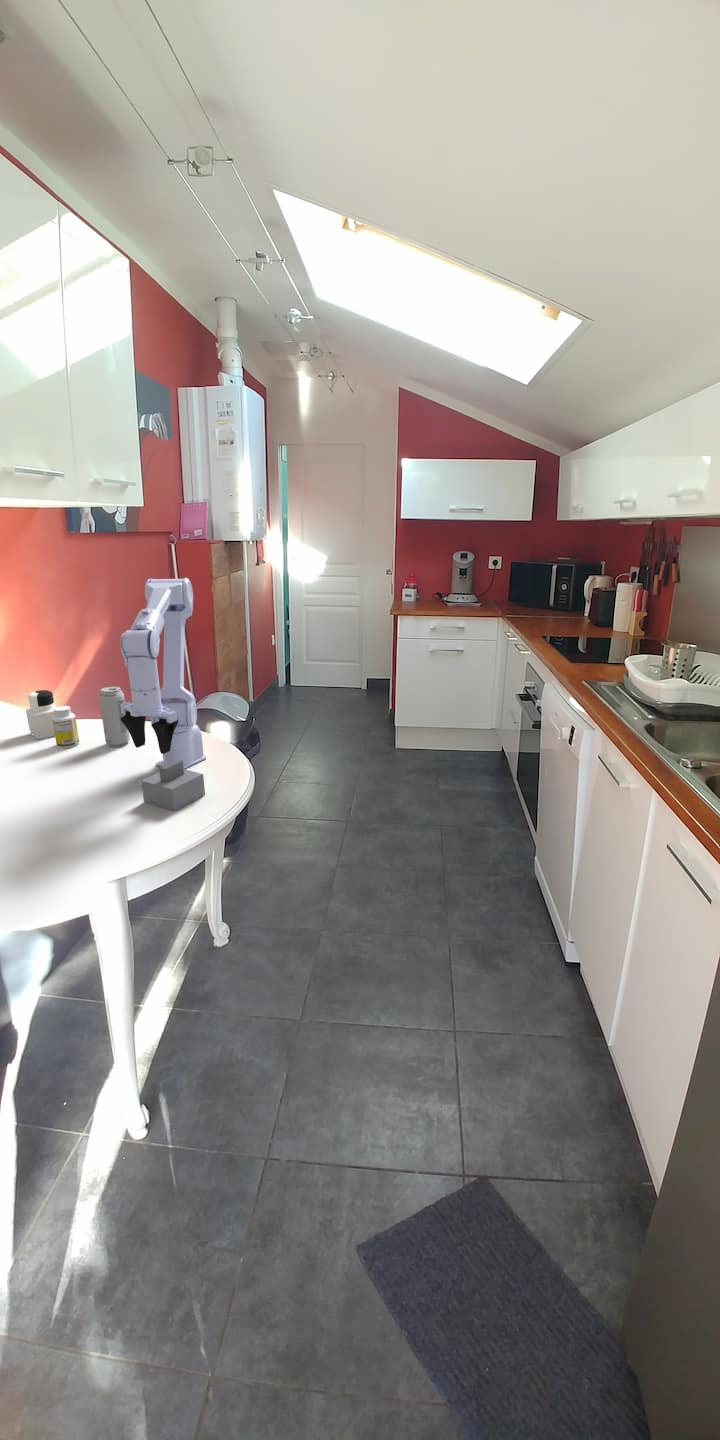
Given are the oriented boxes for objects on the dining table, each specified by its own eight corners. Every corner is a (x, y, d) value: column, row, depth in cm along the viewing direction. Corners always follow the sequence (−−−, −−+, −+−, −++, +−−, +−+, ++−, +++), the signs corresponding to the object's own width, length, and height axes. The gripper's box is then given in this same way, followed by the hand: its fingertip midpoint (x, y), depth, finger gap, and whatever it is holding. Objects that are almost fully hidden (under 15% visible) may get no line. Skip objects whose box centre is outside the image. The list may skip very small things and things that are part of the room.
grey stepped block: (175, 786, 150) (171, 753, 148) (205, 794, 146) (201, 761, 143) (143, 801, 143) (139, 767, 140) (174, 811, 138) (170, 775, 136)
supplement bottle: (68, 740, 180) (62, 703, 177) (84, 743, 178) (78, 706, 174) (51, 747, 175) (45, 709, 172) (67, 750, 173) (61, 712, 170)
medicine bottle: (56, 727, 190) (49, 686, 186) (64, 734, 185) (57, 692, 181) (29, 733, 186) (22, 691, 182) (37, 740, 181) (29, 697, 177)
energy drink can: (111, 740, 180) (103, 685, 175) (133, 739, 180) (126, 685, 175) (102, 748, 174) (94, 692, 169) (125, 747, 174) (118, 692, 169)
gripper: (105, 687, 139) (114, 749, 144) (155, 697, 132) (163, 761, 137) (132, 679, 145) (140, 738, 150) (181, 688, 138) (188, 750, 142)
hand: (152, 749), depth 144 cm, fingers open, 7 cm apart
